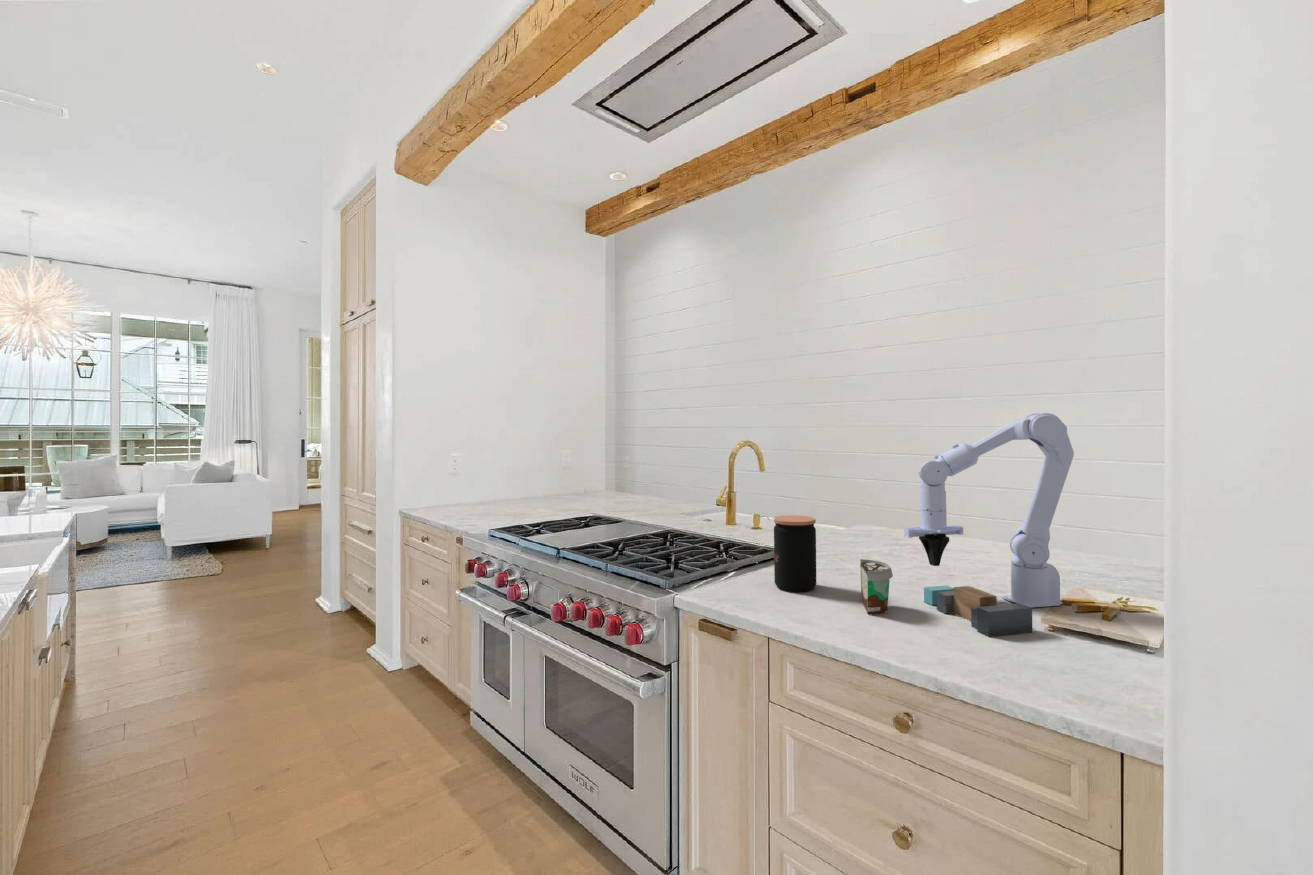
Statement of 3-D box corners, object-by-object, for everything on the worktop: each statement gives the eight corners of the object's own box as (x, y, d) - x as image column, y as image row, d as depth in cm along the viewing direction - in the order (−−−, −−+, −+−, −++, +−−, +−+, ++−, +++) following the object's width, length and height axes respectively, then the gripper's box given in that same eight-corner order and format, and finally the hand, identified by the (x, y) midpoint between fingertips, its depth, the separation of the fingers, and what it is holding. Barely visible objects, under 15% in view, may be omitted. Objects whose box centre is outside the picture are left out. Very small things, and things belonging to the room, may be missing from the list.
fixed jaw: (1009, 623, 123) (1009, 599, 123) (1032, 632, 117) (1032, 608, 117) (966, 626, 122) (966, 602, 121) (988, 636, 116) (988, 611, 116)
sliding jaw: (950, 599, 140) (950, 582, 140) (977, 611, 131) (977, 593, 131) (920, 601, 139) (920, 584, 138) (945, 613, 130) (945, 595, 130)
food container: (898, 618, 128) (897, 572, 127) (868, 616, 129) (868, 571, 129) (887, 601, 140) (887, 559, 140) (860, 600, 141) (860, 558, 141)
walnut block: (969, 612, 131) (969, 586, 131) (996, 624, 123) (996, 596, 123) (953, 614, 130) (953, 587, 130) (979, 626, 122) (979, 597, 122)
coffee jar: (784, 579, 160) (783, 514, 160) (822, 585, 154) (821, 517, 154) (767, 589, 152) (766, 519, 151) (807, 595, 146) (806, 523, 145)
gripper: (915, 513, 139) (916, 570, 139) (971, 510, 141) (972, 566, 141) (899, 509, 146) (900, 564, 146) (952, 506, 148) (953, 560, 148)
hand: (934, 565), depth 144 cm, fingers closed
